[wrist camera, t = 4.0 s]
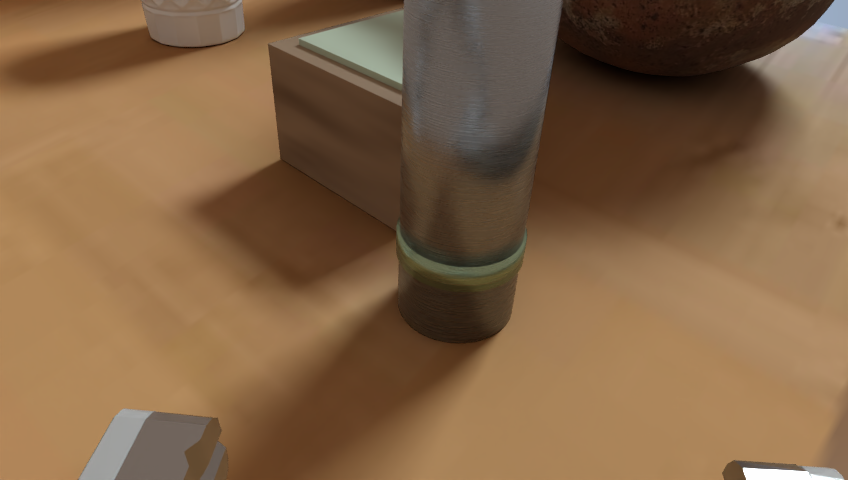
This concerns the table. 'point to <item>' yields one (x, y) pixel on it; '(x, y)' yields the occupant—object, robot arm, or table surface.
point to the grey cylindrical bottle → (469, 157)
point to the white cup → (194, 21)
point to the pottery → (684, 31)
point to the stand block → (344, 109)
